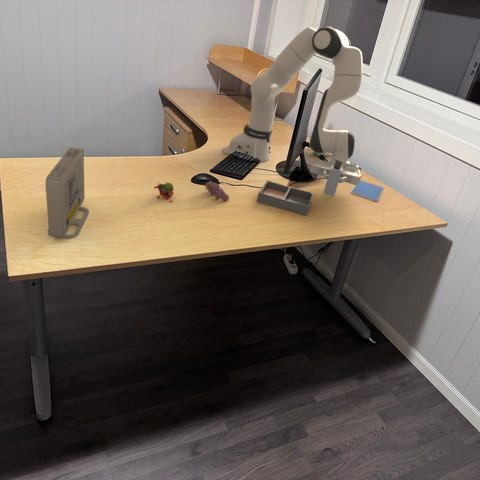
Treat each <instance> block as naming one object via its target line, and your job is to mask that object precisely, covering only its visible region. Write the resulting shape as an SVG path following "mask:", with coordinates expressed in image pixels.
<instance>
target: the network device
mask: <svg viewBox="0 0 480 480" xmlns="http://www.w3.org/2000/svg"><path fill="white" fill-rule="evenodd" d="M84 150H85V149H84V148H79V147H72V146H70V147H68V149H67V150H66V152H65V153H64V154H63V155H62V157H61V158H60V159H59V161H58V162H57V163H56V164H55V166H54V167H53V168H52V170H51V171H50V172H49V173H48V175H47V176H46V178H45V195H46V196H45V200H46V208H47V209H46V210H47V211H46V212H47V223H48V224H47V225H48V229H47V235H48V236H49V237H52V238H57V239H58V238H59V239H66V240H68V239H74V238H76V237H78V236H79V235H80V234H81V233H80V232H81V231H82V228H83V226H84V225H85V223H86V221H87V218H88V216H89V214H90V210H89V208H87V207H83V206H82V205H83V203H84V201H85V159H84V158H85V153H84ZM79 211H81V212H85V213H84V214H83V217H82V218H76V216H77V214H78V213H79ZM71 226H76V227H77V229H76V230H75V232H74V233H73V234H67V233H68V231H69V229H70V227H71Z"/></svg>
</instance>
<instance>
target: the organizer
mask: <svg viewBox="0 0 480 480" xmlns="http://www.w3.org/2000/svg"><path fill="white" fill-rule="evenodd" d="M314 196H315V192H310V191H307V190H304V189H301V188H296V187H292V186H289V185H285V184H283V183H282V184H281V183H277V182H275V181H274V182H273V181H270V180H266V181H265V183H264V184H263V185H262V187H261V188H260V190H259V192H258V194H257V199H256V203H258V204H261V205H265V206H266V205H267V206H270V207H273V208H277V209H280V210H285V211H288V212H290V213H294V214H298V215H301V216H305V217H307V216H308V214H309V210H310V208H311V205H312V203H313V199H314Z"/></svg>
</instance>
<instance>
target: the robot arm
mask: <svg viewBox="0 0 480 480" xmlns="http://www.w3.org/2000/svg"><path fill="white" fill-rule="evenodd" d="M317 54H318V55H319V56H321V57H323V58H325V59H329V60H332V61H333V63H334V70H333V71H334V73H333V80H332V83H331V85H330V86H329V87H328V88H326V89H325V91H324V92H323V93H322V97H321V100H320V103H319V106H318V111H317V113H316V119H315V122H314V125H313V129H312V132H311V135H310V138H309V142H308V143H309V148H310V150H312V151H313V153H314V152H315V153H331V154H330V155H329V158H328V160H327V162H326V161H321V160H314V161H312V162H311V165H310V168H309V172H310V173H311V174H314V175H317V176H321V177H323V179H324V180H327V179H328V176H329V172H330V169H331V166H332V165H334V164H335V161H336V159H339V160H342V161H343V162H342V165H341V167H343V170H342V173H341V176H340V179H339V182H338V184H343V183H347V184H351V185H354V186H355V185H358V184H359V182H360V180H362V174H361V173H362V172H361V171H360V166H359V165H357V164H354V163H352V162H351V161H350V158H352V156H353V154H354V149H355V142H356V141H355V136H354V134H353V133H352V132H351V131H350V130H343V129H326V128H325V125H326V120H327V117H328V113H329V110H330V109H331V107H333V106H334V105H335V104H338V103H341V102H344V101H346V100H349V99H351V98H353V97H354V96H356V95H357V94H358V92H359V90H360V88H361V83H362V75H363V53H362V51H361V50H360V49H359V48H357V47H355V46H351V41H350V38H349V37H348V35H347V34H345V33H344V32H343V31H341V30H339V29H336V28H333V26H323V27H320V28H318V29H316V28H314V27H312V26H311V27H310V26H308V27H305V28H304V29H303V30H302V31H300V32H299V33H298V34H297V35H296V36H295V37H293V39H292V40H291V41H290V42H289V43H288V44H287V45H286V47H284V49H283V50H282V51H281V52H280V53H279V54H278V55H277V56H276V58H275V60H274V61H273V63H272V64H271V65H270V67H269V68H268V69H267V70H266V71H265V72H264V73H262V74H261V75H258V76H257V77H255V79H254V80H253V81H252V83H251V86H250V93H251V109H250V116H249V122H248V123H246V124H245V125H244V126H243V130H242V131H243V132H241V133H239V134H236V135H235V136H233V137H232V139H231V140H230V141H229V143H228V144H227V145H226V146H225V147H223V153H224V152H226V153H229V154H231V153H232V152H235V151H237V152H241V153H245V154H248V155H250V156H253V157H254V158H258V159H260V161H259V162H267V161H269V160H268V159H270V156H269V155H270V153H269V152H270V142H271V139H272V136H273V123H274V119H275V116H276V114H275V103H276V97H277V96H279V95H280V94H281V93H282V92H283V90H284V89H285V88H286V87H287V86H288V84H290V83H291V81H292V80H293V79H294V78H295V76H297V74H298V73H300V71H301V70H302V68H304V67H305V66H306V65H307V63H309V61H310V60H311V59H312V58H313V57H314V56H315V55H317ZM226 153H225V154H226ZM315 153H314V154H315ZM229 154H228V155H229Z"/></svg>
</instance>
